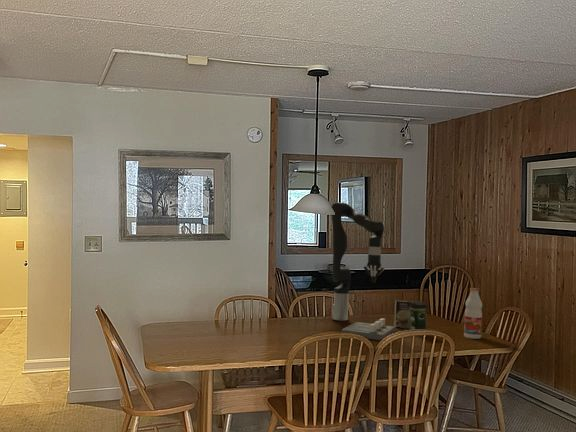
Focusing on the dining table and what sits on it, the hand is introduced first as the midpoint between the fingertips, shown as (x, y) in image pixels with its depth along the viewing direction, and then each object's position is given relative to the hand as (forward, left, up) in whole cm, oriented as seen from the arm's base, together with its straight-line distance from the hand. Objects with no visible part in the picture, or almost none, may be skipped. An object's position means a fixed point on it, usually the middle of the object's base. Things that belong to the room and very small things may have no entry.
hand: (373, 282), depth 346 cm
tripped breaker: (+9, -19, -24) cm, 32 cm away
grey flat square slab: (+4, -19, -27) cm, 33 cm away
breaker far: (+9, -10, -24) cm, 27 cm away
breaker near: (+9, -28, -24) cm, 38 cm away
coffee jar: (+28, -2, -27) cm, 39 cm away
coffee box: (+16, +10, -27) cm, 33 cm away
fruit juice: (+58, +6, -27) cm, 64 cm away
